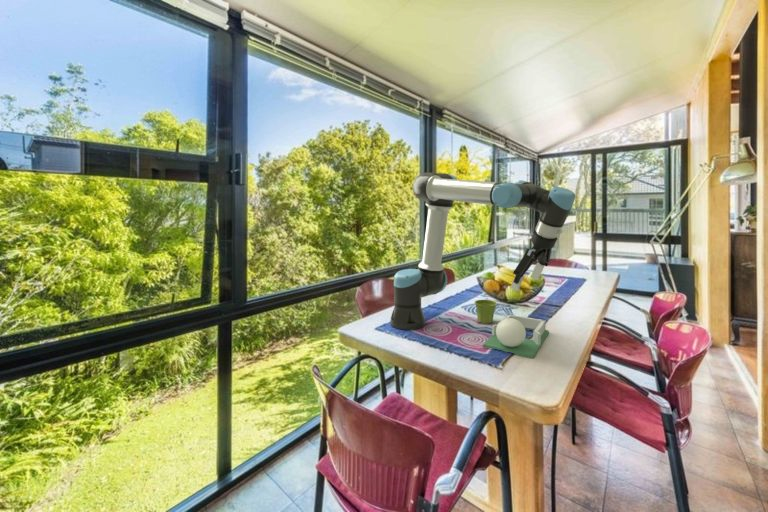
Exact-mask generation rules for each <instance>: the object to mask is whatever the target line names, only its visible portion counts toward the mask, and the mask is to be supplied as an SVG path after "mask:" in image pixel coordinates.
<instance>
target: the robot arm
mask: <svg viewBox="0 0 768 512" xmlns="http://www.w3.org/2000/svg"><path fill="white" fill-rule="evenodd" d="M412 192H413V194H414V196H415V197H416V198H417V199H418V200H419V201H422V202H425V203H424V204H425V206H426V207H427V209H428V210H427V218H426V227H425V234H424V244H423V249H422V250H423V252H422V258H421V259H422V260H421V261H420V262H419V263H418V265H417V269H416V268H408V269H402V270H399V271H397V272H396V273H395V274H394V276H393V277H394V278H393V296H394V297H393V301H394V307H393V310H392V313H391V315H390V325H391V327H393V328H395V329H398V330H407V331H408V330H409V331H410V330H417V329H421V328H424V327H425V325H426V317H425V314H424V311H423V308H422V298H426V297H428V296H432V295H437V294H438V293H441V292H442V291H444V290H445V288H446V286H447V285H448V275H447V273H446V271H445V267H444V265H443V264H442V260H443V252H444V245H445V237H446V230H447V224H448V215H449V211H450V210H451V209H452V208H453V207H454V202H460V203H461V202H464V203H470V204H477V205H478V204H480V205H488V206H495V207H499V208H504V209H511V208H528V209H531V210H533V211H536V212H537V213H540V217H539V219H538V222H537V223H536V225H535V230H534V231H533V234H532V236H531V239H530V240H531V243H532V244H533V246H532V247H531V248H527V249H526V251H525V253H524V255H523V257H522V258H521V260H519V263H518V264H517V266H516V267H515V269H514V270H513V272H512V274H513V275H514V278H513V280H512V283H511V285H510V289H512V290H513V291H514V292H519V290H520V288H521V285H522V282H523V280H524V278H525V276H524V275H525V274H526V273H527V272H528V270H529V269H530V267H531V266H532V265H533V264H534V263H536V264H535V266H534V269H533V271H532V273H531V275H530V277H531V279H533V280H535V281H539V279H540V276H541V275H542V273H543V270H544V268H545V267H548V266H549V263H550V260H551V254H552V250H553V248H554V247H555V245H556V243H557V240H558V237H559V235H560V234H562V233H563V230H562V229H563V228H564V225H565V222H566V220H567V218H568V216H569V214H570V212H571V210H572V208H573V205H574V203H575V201H576V193H575V192H574V191H572V190H571V189H570V188H565V187H560V186H554V187H552V188H551V189H550V190H549V189H546V188H543V187H541V186H539V185H537V184H534V183H532V182H530V181H526V180H518V181H517V182H516V183H514V182H498V181H482V180H472V179H471V180H468V179H458V178H456V177H455V175H453V174H449V173H445V172H439V173H438V172H423V173H420V174H419V175H417V176H416V178H414V181H413V183H412ZM537 261H538V262H537Z"/></svg>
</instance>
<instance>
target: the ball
mask: <svg viewBox="0 0 768 512" xmlns="http://www.w3.org/2000/svg"><path fill="white" fill-rule="evenodd" d="M503 319H504V318H503ZM503 319H502V320H501V321H499V322H498V323H497V324H498V325H497V328H496V336H497V338H498V340H499V341H500V342H501V343H502V344H503V345H505V346H508V347H516V346H519V345H520V344H522V343H523V341H524V340H525V338H526V337H527V330H525V327H524V326H523V324H522V323H521V322H520V321H518V320H516V319H513V318H507V319H504V320H503Z"/></svg>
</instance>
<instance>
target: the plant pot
mask: <svg viewBox="0 0 768 512" xmlns="http://www.w3.org/2000/svg"><path fill="white" fill-rule="evenodd" d="M474 305H475V307H476V314H477V322H479V323H481V324H486V325H487V324H492V323H493V321H494V315H495V311H496V308H497V305H498V302H497V301H495V300H492V299H477V300H475V301H474Z"/></svg>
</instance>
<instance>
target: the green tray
mask: <svg viewBox="0 0 768 512" xmlns="http://www.w3.org/2000/svg"><path fill="white" fill-rule="evenodd" d="M507 318H513V319H516V320H518V321H520V322H521V323H522V324H523V326H524V327H525V329H526V331H529V330H532V331H531V332H533V336H532V337H533V338H532V339H531V338H526V337H525V340H524V341H523V343H522V344H520V345H519V346H516V347H508V346H505V345H503V344H502V343H501V342H500V341H499V340H498V338H497V336H496V328H497V325H498V324H499V323H495V324H492V328H491V330H492V331H491V336H490V337H489V338H487V339H486V341H485V342H483V344H482V348H485V347H489V348H493V349H492V350H494V349H499V350H502V351H507V352H512V353H514V354H513V355H515V354H516V356H521V357H525V358H529V359H534V357H535V356H536V354H537V352H538V351H539V350H540V348H541V346H542V344H543V343H544V341H545V339H546V338H547V336H548V334H549V333H550V332H549V330H548V329H546V320H545V319H540V318H539V319H538V318H533V317H532V318H531V317H526V316H521V315H516V314H515V315H513V314H509V313H508V314H507V315H506V316H505V317H504V318H502V320H504V319H507ZM489 348H488V349H489ZM502 351H501V352H502ZM507 352H506V353H507Z"/></svg>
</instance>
